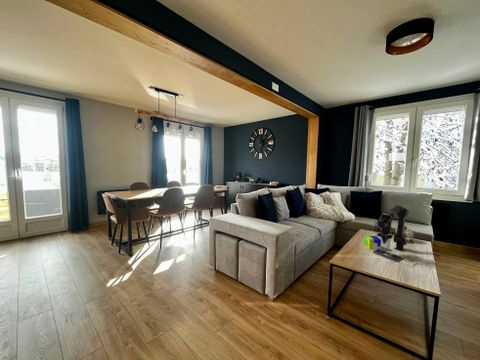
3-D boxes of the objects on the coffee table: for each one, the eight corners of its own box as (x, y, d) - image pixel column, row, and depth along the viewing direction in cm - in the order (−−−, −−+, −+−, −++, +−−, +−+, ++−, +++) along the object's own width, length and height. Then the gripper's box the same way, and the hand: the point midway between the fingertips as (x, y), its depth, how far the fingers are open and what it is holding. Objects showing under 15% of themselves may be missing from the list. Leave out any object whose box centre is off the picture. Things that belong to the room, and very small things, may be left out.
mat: (404, 259, 167) (404, 258, 167) (416, 263, 160) (416, 263, 160) (399, 261, 164) (399, 260, 164) (411, 265, 157) (411, 265, 156)
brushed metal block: (383, 244, 177) (384, 236, 177) (390, 247, 173) (390, 238, 172) (380, 246, 175) (381, 237, 174) (386, 248, 171) (387, 239, 170)
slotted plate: (379, 250, 183) (379, 248, 183) (402, 259, 167) (402, 257, 167) (373, 252, 179) (373, 250, 178) (396, 261, 163) (396, 259, 162)
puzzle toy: (380, 250, 184) (381, 240, 183) (369, 249, 186) (369, 239, 185) (375, 245, 194) (376, 236, 193) (364, 244, 196) (365, 235, 195)
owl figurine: (391, 239, 212) (392, 224, 211) (393, 236, 220) (394, 221, 218) (413, 244, 199) (414, 228, 197) (414, 241, 206) (416, 225, 205)
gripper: (382, 222, 184) (381, 238, 185) (371, 224, 175) (370, 241, 176) (396, 225, 174) (395, 242, 175) (385, 228, 165) (383, 246, 167)
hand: (385, 243), depth 174 cm, fingers closed on brushed metal block, 5 cm apart
